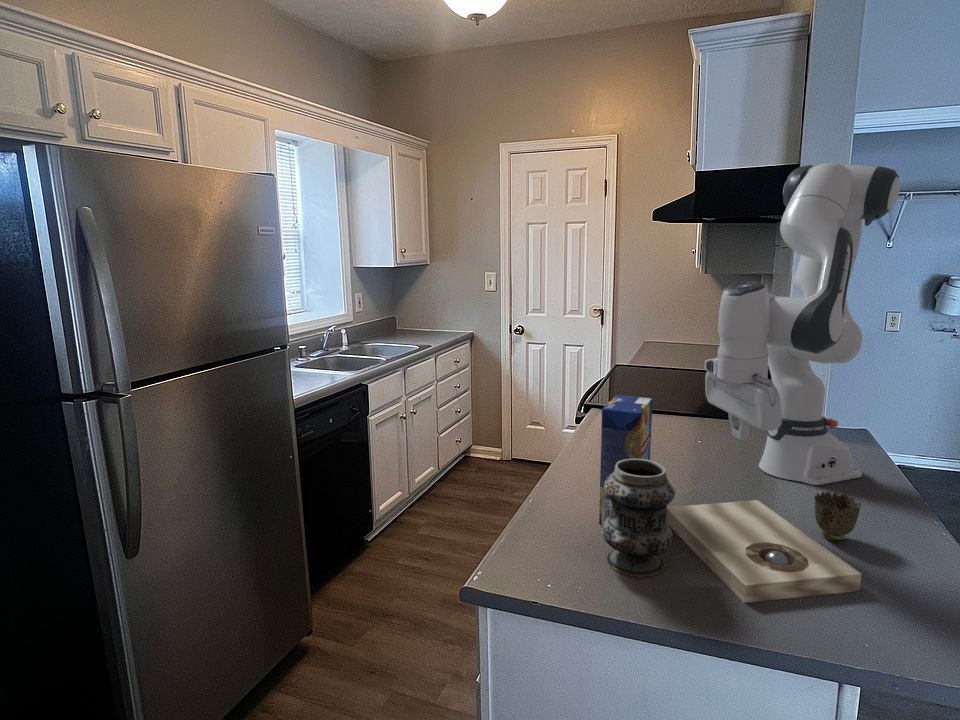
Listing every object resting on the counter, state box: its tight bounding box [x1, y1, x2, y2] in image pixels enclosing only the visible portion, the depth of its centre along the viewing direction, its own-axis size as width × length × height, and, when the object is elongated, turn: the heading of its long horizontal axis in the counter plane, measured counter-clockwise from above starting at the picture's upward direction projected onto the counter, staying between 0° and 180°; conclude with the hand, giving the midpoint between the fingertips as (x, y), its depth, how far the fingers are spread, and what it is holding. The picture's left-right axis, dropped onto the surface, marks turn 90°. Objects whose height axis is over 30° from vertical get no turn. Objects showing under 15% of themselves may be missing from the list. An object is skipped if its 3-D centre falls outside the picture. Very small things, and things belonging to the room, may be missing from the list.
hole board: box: [666, 499, 863, 604], centre depth 106 cm, size 20×28×3 cm
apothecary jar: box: [601, 459, 676, 578], centre depth 102 cm, size 12×12×18 cm
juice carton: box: [598, 394, 653, 525], centre depth 120 cm, size 12×8×24 cm, turn 154°
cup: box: [814, 491, 862, 543], centre depth 110 cm, size 8×7×8 cm
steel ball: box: [764, 551, 790, 566], centre depth 99 cm, size 4×4×4 cm
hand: (739, 437), depth 114 cm, fingers closed
